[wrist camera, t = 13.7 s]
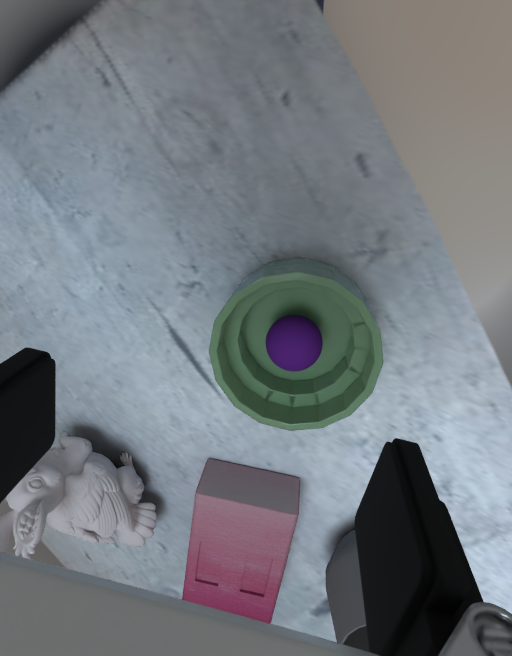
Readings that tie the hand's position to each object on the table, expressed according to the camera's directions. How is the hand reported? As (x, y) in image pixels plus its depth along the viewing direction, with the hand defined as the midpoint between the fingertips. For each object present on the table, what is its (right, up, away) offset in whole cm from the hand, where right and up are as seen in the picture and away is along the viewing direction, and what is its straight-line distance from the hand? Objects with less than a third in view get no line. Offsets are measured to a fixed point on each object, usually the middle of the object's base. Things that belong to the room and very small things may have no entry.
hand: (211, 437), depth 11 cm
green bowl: (+5, +3, +23) cm, 23 cm away
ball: (+4, +2, +20) cm, 21 cm away
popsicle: (0, -20, +32) cm, 38 cm away
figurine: (-14, -12, +31) cm, 36 cm away
